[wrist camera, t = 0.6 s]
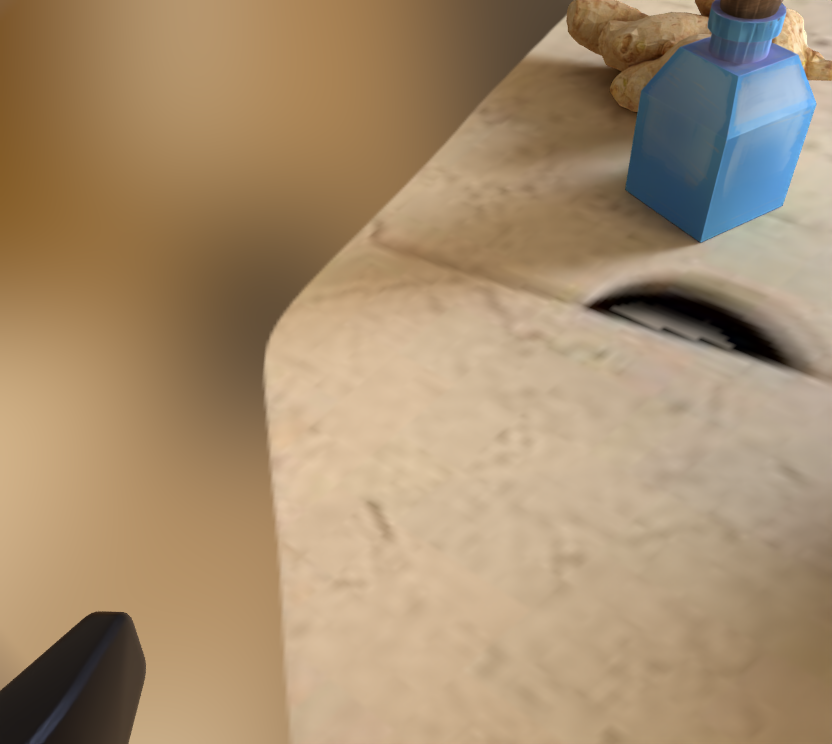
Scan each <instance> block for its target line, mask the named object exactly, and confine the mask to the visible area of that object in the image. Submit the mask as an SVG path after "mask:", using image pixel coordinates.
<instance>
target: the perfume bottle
mask: <svg viewBox="0 0 832 744" xmlns="http://www.w3.org/2000/svg"><path fill="white" fill-rule="evenodd" d="M782 1H783V0H715V1H714V2H713V3H712V5H711V10H710V15H709V19H708V29H709V30H710V32H712V34H711V36H710V37H707V38H704V39H702V40H699V41H696V42H693V43H690V44H687V45H684V46H681V47H679V49H678V50H677V51H676V52H675V53H674V54H673V55H672V57H671V58H670V59H669V60H668V61H667V62H666V63H665V64H664V66H663V67H662V68H661V69H660V70H659V71H658V72H657V73H656V75H655V76H654V77H653V78H652V79H651V80H650V81H649V82H648V84H647V85H646V86H645V87H644V88H643V89H642V90H641V95H640V101H639V107H638V113H637V120H636V126H635V132H634V138H633V144H632V151H631V157H630V163H629V169H628V175H627V182H626V188H625V190H626V191H628V192H629V193H630V194H632V195H633V196H635V197H636V198H638V199H639V200H640V201H642V202H643V203H645V204H646V205H648V206H649V207H650V208H652V209H653V210H655V211H656V212H658V213H659V214H660V215H662V216H663V217H665V218H666V219H667V220H669V221H670V222H672V223H673V224H675V225H676V226H677V227H679V228H680V229H682V230H683V231H685V232H686V233H687V234H689V235H690V236H692V237H693V238H694V239H696V240H697V241H699V242H700V243H701V242H703V241H705V240H708V239H710V238H712V237H714V236H717V235H719V234H721V233H723V232H725V231H728V230H730V229H732V228H734V227H736V226H739V225H741V224H743V223H745V222H748V221H750V220H752V219H754V218H756V217H759V216H761V215H763V214H765V213H767V212H770V211H772V210H774V209H776V208H779V207H781V206H783V203H784V200H785V197H786V194H787V191H788V188H789V185H790V182H791V179H792V176H793V173H794V170H795V167H796V164H797V161H798V158H799V155H800V152H801V149H802V146H803V143H804V140H805V137H806V134H807V131H808V128H809V125H810V122H811V119H812V116H813V113H814V110H815V107H816V101H815V98H814V96H813V93H812V90H811V88H810V85H809V82H808V80H807V77H806V74H805V71H804V69H803V66H802V63H801V61H800V58H799V55H798V54H796V53H794V52H792V51H790V50H788V49H785V48H783V47H781V46H779V45H777V44H774V43H772V39H773V38H775V37H777V36H778V35H779V34H780V32H781V30H782V26H783V23H784V19H785V16H786V7H785V6H784V5H783V4H782Z"/></svg>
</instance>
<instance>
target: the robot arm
mask: <svg viewBox="0 0 832 744" xmlns="http://www.w3.org/2000/svg"><path fill="white" fill-rule="evenodd" d="M145 673H146V663H145V657H144V654H143V651H142V648H141V645H140V642H139V638H138V636H137V632H136V629H135V626H134V623H133V621H132V618H131V617H130V616H129V615H128V614H127V613H124V612H94V613H91V614H89V615H88V616H86V617H85V618H84V619H82V620H81V621H80V622H79V623H78V624H77V625H75V626H74V627H73V628H72V629H71V630H70V631H69V632H67V633H66V634H65V635H64V636H63V637H62V638H61V639H59V640H58V641H57V642H56V643H55V644H54V645H52V646H51V647H50V648H49V649H48V650H47V651H46V652H44V653H43V654H42V655H41V656H40V657H39V658H37V659H36V660H35V661H34V662H33V663H32V664H31V665H29V666H28V667H27V668H26V669H25V670H24V671H22V672H21V673H20V674H19V675H18V676H17V677H16V678H14V679H13V680H12V681H11V682H10V683H9V684H7V685H6V686H5V687H4V688H3V689H2V690H1V691H0V744H128V742H129V739H130V735H131V731H132V727H133V723H134V719H135V715H136V711H137V708H138V704H139V699H140V696H141V691H142V688H143V684H144V680H145Z"/></svg>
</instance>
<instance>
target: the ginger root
mask: <svg viewBox="0 0 832 744" xmlns="http://www.w3.org/2000/svg"><path fill="white" fill-rule="evenodd" d="M714 1H715V0H695V3H696V5H697V7H698V9H699V11H700V13H701V15H697V14H691V13H675V12H670V13H665V14H659V15H653V16H648V15H646V14H644V13H641V12H640V11H639V10H638V9H636V8H633V7H630V6H628V5H626V4H624V3H622V2H620V1H617V0H574V1H573V2H572V3H571V4H570V5H569V7H568V10H567V20H566V21H567V25H568V32H569V34H570V35H571V37H572V38H573V39H574V40H575V41H576V42H578V43H579V44H580V45H582V46H584V47H586V48H587V49H589V50H591V51H593V52H594V53H596V54H599V55H602V56H603V58H604V61H605V64H606V65H607V66H610V67H612V68H615V69H617V70H620V71H621V73H620V74H619V75H618V76H616V77H615V79H614V80H613V82H612V84H611V86H610V93H611V94H612V96H613V97H614V99H615V100H616V101H617V103H618V104H619V105H620V106H622V107H624V108H627V109H629V110H630V111H634V112H638V107H639V101H640V95H641V90H642V89H643V88H644V87H645V86H646V85H647V84H648V82H649V81H650V80H651V79H652V78H653V77H654V76H655V75H656V73H657V72H658V71H659V70H660V69H661V68H662V67H663V66H664V64H665V63H666V62H667V61H668V60H669V59H670V58H671V57H672V55H673V54H674V53H675V52H676V51H677V50H678V49H679V47H681V46H684V45H687V44H690V43H693V42H696V41H699V40H702V39H704V38H707V37H710V36H711V34H712V32H710V30H709V29H708V19H709V15H710V10H711V5H712V3H713V2H714ZM772 43H774V44H777V45H779V46H781V47H783V48H785V49H788V50H790V51H792V52H794V53H796V54H798V55H799V58H800V61H801V63H802V66H803V69H804V71H805V74H806V77H807V80H829V81H831V80H832V61H828V60H825V59H824V58H823V56H822V55H821V54H820V53H819V52H816V51H813V50H812V49H810V48H809V47H808V46H807V34H806V32H805V31H804V21H803V17H802V16H801V15H799V14H798V13H797V11H794V10H791V9H788V8H786V16H785V19H784V23H783V26H782V30H781V32H780V34H779V35H778V36H777V37H775V38H773V39H772Z"/></svg>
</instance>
